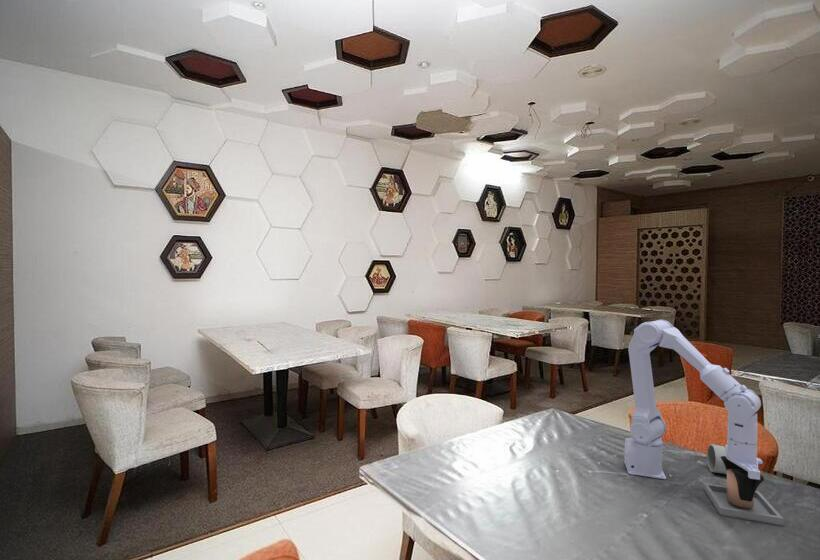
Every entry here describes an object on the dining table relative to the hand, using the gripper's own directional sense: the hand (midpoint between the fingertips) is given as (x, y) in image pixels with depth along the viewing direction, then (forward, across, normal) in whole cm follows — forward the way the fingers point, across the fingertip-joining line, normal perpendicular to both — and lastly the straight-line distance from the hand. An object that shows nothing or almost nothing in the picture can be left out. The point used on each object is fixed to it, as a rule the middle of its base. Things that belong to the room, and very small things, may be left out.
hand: (740, 493), depth 100 cm
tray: (+3, 0, 0) cm, 3 cm away
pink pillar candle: (+2, 0, 0) cm, 2 cm away
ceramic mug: (+3, +20, -3) cm, 21 cm away
